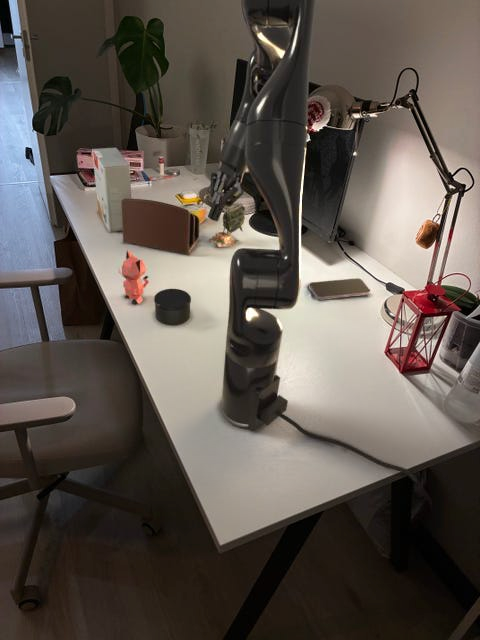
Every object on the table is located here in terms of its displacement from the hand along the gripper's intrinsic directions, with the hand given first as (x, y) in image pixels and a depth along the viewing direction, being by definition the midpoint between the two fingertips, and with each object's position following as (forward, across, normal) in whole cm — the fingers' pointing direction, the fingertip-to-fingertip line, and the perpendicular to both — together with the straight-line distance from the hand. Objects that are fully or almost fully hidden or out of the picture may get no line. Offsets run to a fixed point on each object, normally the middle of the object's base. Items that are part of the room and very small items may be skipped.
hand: (212, 219), depth 116 cm
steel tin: (+23, +6, -4) cm, 24 cm away
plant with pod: (+10, -24, +22) cm, 34 cm away
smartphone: (+6, +10, +38) cm, 39 cm away
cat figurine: (+25, -4, -9) cm, 27 cm away
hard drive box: (+19, -48, -4) cm, 52 cm away
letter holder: (+17, -30, +5) cm, 35 cm away
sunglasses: (+12, -44, +15) cm, 48 cm away
